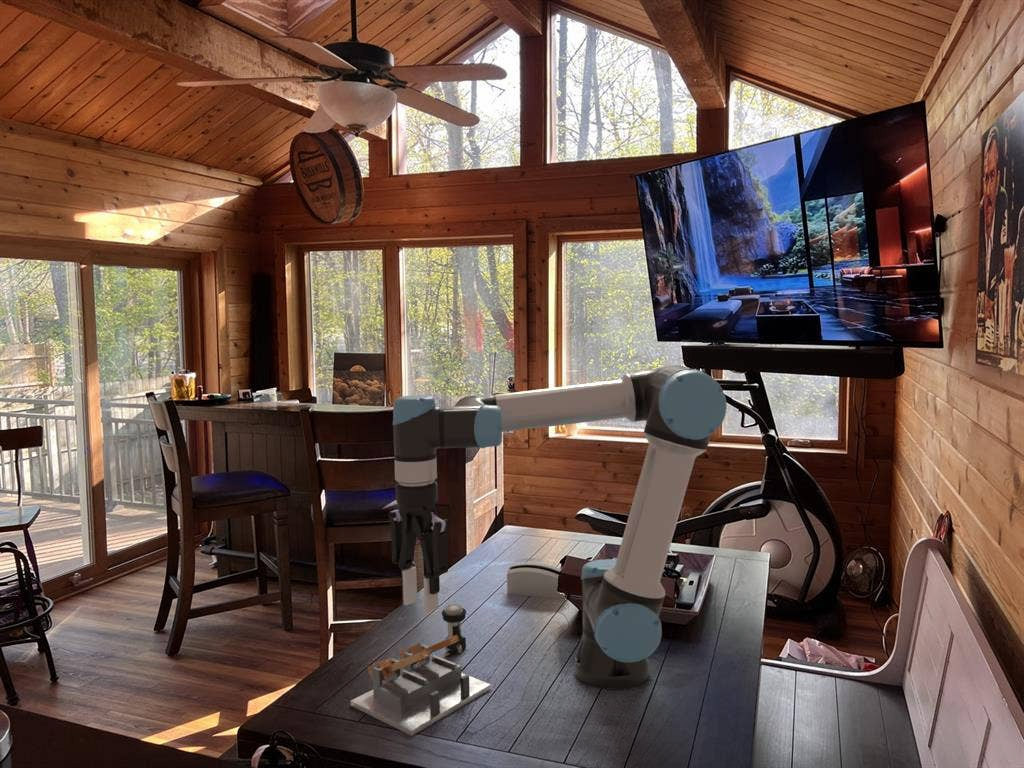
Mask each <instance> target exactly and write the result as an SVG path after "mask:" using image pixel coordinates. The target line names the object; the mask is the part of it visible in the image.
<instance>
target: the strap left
mask: <svg viewBox="0 0 1024 768" xmlns="http://www.w3.org/2000/svg"><path fill="white" fill-rule="evenodd" d="M427 656H429V653H428V651H427V649H426V650H424V651H422V652H419V653H417V654H415V655H412V656H410V657H408V658H405V659H403V660H401V659H400V660H399V661H398V662H396V663H394V664H392V662H391V659H392V658H391V657H386V658H385V659H382V660H380V661H377V662H375V663H373V664H371V665H369V666H367V667H366V668H367V670H368V672H369V676H370V678H371V680H372V682H373V672H372V668H373V667H375V666H376V667H378V668H381V669H382V672H383V680H387V679H390V678H391V676H393V675H395V674H396V673H395V670H397V669H400V670H401V669H402V668H404V666H407V665H409V664H412V663H414V662H416V661H419V660H421V659H423V658H425V657H427Z"/></svg>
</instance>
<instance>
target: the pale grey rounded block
mask: <svg viewBox="0 0 1024 768" xmlns="http://www.w3.org/2000/svg"><path fill="white" fill-rule="evenodd" d="M560 569H561V568H559V567H557V566H553V565H550V564H546V563H541V562H531V561H530V562H518V563H515V564H514V563H513V564H512V565H511V566H510V567H509V568H508V570H507V573H506V588H507V591H506V592H507V594H511V595H518V596H520V595H521V596H526V597H527V596H529V597H537V598H544V599H550V600H551V599H552V600H559V601H560V600H561V601H566V600H565V599H566V598H565V596H564V595H563V594H560V593H558V591H557V584H558V576H559V572H560Z"/></svg>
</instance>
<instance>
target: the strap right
mask: <svg viewBox="0 0 1024 768" xmlns="http://www.w3.org/2000/svg"><path fill="white" fill-rule="evenodd" d="M458 641H459V638H458V636H457V635H455V636H453V637H450V638H448V637H447V638H446V639H444V640H441V641H439V642H437V643H435V644H432V645H430V646H429V645H428V646H429V647H427V648H425V649H422V648H421V645H422V644H420V642H418V643H416V644H414V645H411V646H409V647H407V648H405V649H403V650H401V651H399V652H397V653H398V657H399V658H400V661H401V660H403V659H404V653H405V652H409V653H411V654H413V655H415V654H417V653H419V652H422V651H424V650H426V649H427V651H428V653H429V654H430V655H431V654H432V653H434V652H437V651H439V650H442V649H445V647H447V646H449V645H451V644H454V643H456V642H458ZM425 659H426V658H423V659H421V660H419V661H416V662H414V665H415V664H417V665H418V664H420V662H421V661H423V660H425Z"/></svg>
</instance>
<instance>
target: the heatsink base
mask: <svg viewBox="0 0 1024 768" xmlns="http://www.w3.org/2000/svg"><path fill="white" fill-rule="evenodd" d="M420 645H421V648H422V649H425V648H427V647H429V645H427V644H424V643H422V644H420ZM412 655H413V654H411V653H409V652H405V653H404V659H405V658H408V657H410V656H412ZM425 658H426V659H425V660H423V661H421V662H419V664H418V663H417V664H415V665H414V663H412V664H409V665H407V666H404V667H403V669H402V670H401V668H400V669H397V670H395V673H396V674H395V675H393V676H391V677H390V681H389V680H387V679H385V680H383V672H382V669H381V668H378V667H376V666H375V667H373V668H372V672H373V681H372V689H371V690H369V691H367V692H366V693H363V694H361V695H359V696H357V697H355V698H353V699H351V700H350V706H351V707H353V708H354V709H357V710H359V711H361V712H363V713H365V714H367V715H369V716H371V717H372V718H375V719H377V720H378V721H381V722H384V723H385V724H387V725H389V726H391V727H393V728H394V729H397V730H399V731H401V732H403V733H405V734H407V735H408V736H411V737H412V736H414V735H416V734H417V733H419V732H422V730H424V729H426V728H427V727H430V726H431V725H432V724H435V723H436V722H437V721H440V720H441V719H443V718H444V717H446V716H448V715H450V714H452V713H453V712H454V711H456V710H458V709H460V708H461V707H463V706H465V705H467V704H468V703H470V702H471V701H473V700H475V699H476V698H478V697H480V696H481V695H484V694H485V693H487V692H488V691H490V690H492V688H491V687H492V686H491V684H490V683H488V682H485V681H483V680H481V679H478V678H475V677H472V676H470V675H469V674H467V673H466V674H465V673H463V672H462V665H461V664H457V663H455V662H453V661H450V660H448V659H445V658H443V657H440V656H437V655H435V654H433V655H432V656H431V653H430V654H429V656H427V657H425ZM390 659H391V662H392V664H394V663H396V662H398V661H400V660H399V659H396V658H394V657H392V658H390Z"/></svg>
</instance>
